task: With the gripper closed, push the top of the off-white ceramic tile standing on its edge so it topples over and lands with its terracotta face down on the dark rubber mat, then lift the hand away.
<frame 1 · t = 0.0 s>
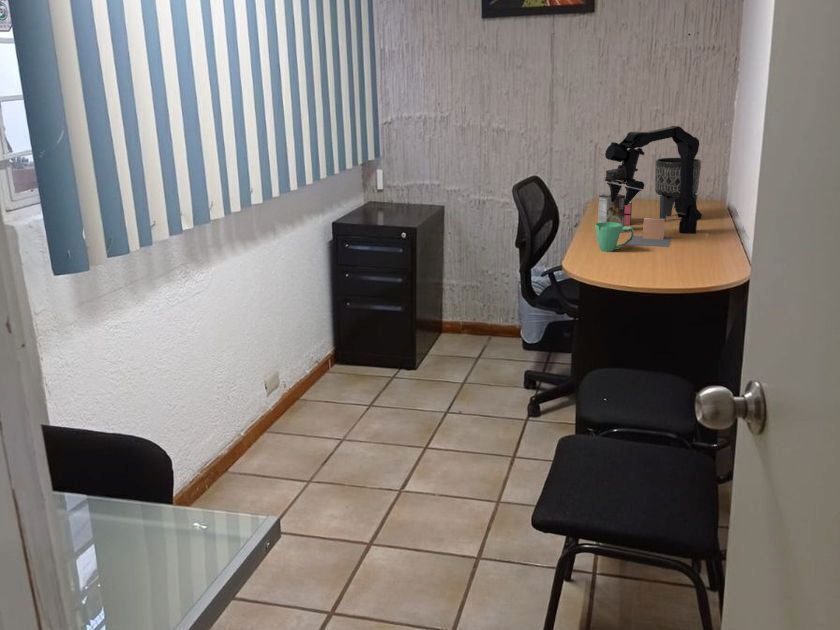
hand: (618, 203, 322), 15 cm above the table, tool pointing down, fingers open, 9 cm apart
coffee box: (610, 233, 343), on the table
mug: (613, 251, 313), on the table
planter: (674, 219, 368), on the table
mat: (649, 242, 324), on the table
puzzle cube: (618, 223, 362), on the table
tile: (653, 238, 328), point 1 cm above the table, touching mat
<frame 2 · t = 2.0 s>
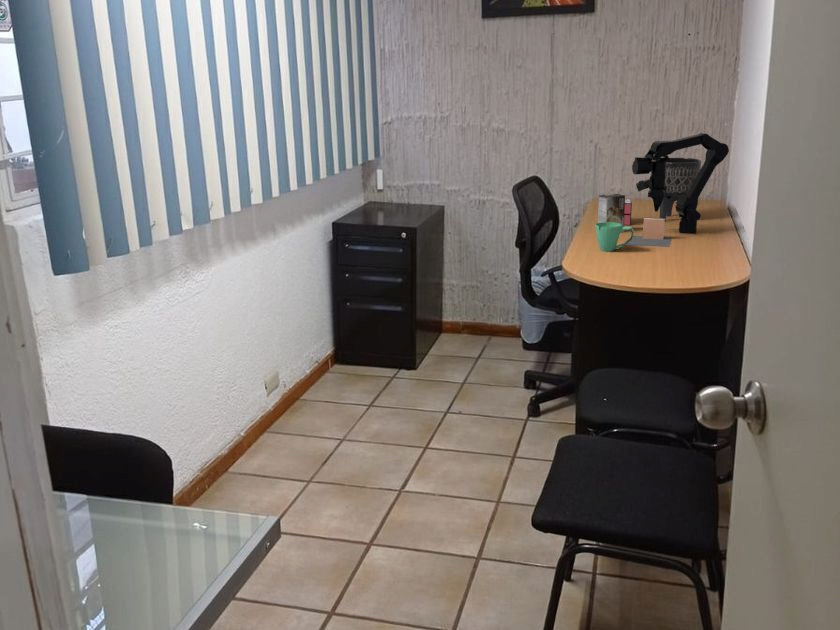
hand: (656, 211, 333), 10 cm above the table, tool pointing down, fingers closed
nothing on the table moved.
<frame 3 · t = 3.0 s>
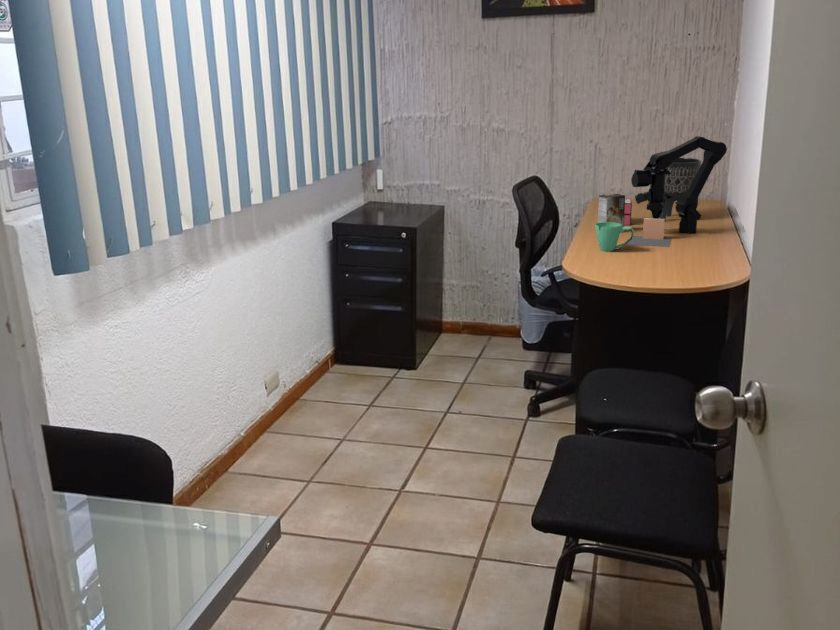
hand: (655, 223, 334), 5 cm above the table, tool pointing down, fingers closed
nothing on the table moved.
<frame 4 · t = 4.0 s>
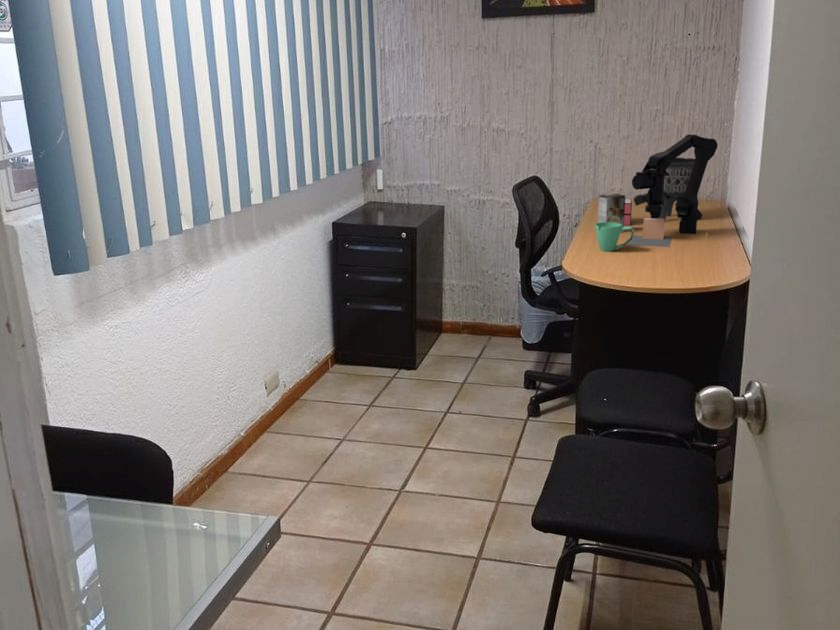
hand: (653, 226, 329), 5 cm above the table, tool pointing down, fingers closed
tile: (653, 238, 328), point 1 cm above the table, touching gripper, mat
everything else where it was.
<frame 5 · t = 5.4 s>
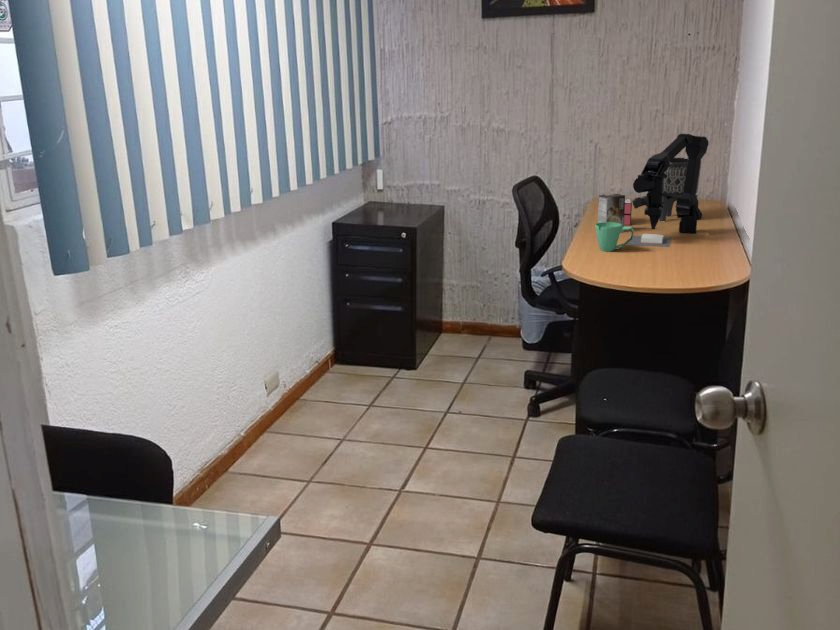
hand: (653, 229, 324), 5 cm above the table, tool pointing down, fingers closed
tile: (653, 236, 327), point 2 cm above the table, tilted 90°, touching mat
everything else where it was.
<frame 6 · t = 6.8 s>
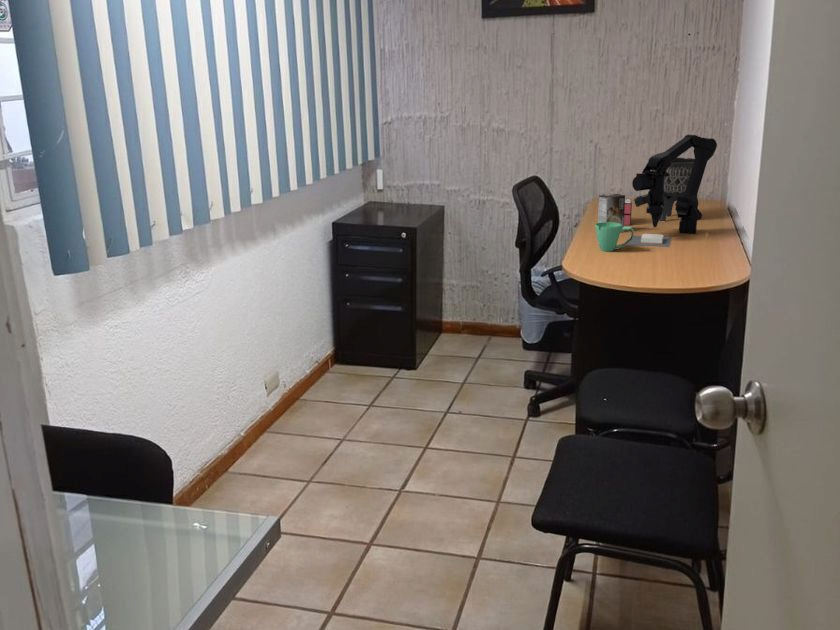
hand: (654, 226, 329), 5 cm above the table, tool pointing down, fingers closed
nothing on the table moved.
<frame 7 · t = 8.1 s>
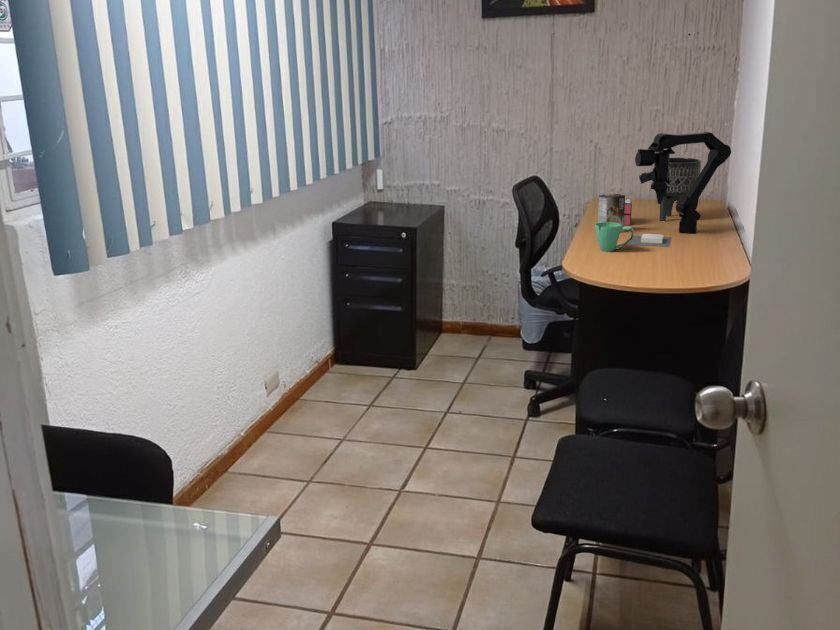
hand: (659, 203, 333), 13 cm above the table, tool pointing down, fingers closed
nothing on the table moved.
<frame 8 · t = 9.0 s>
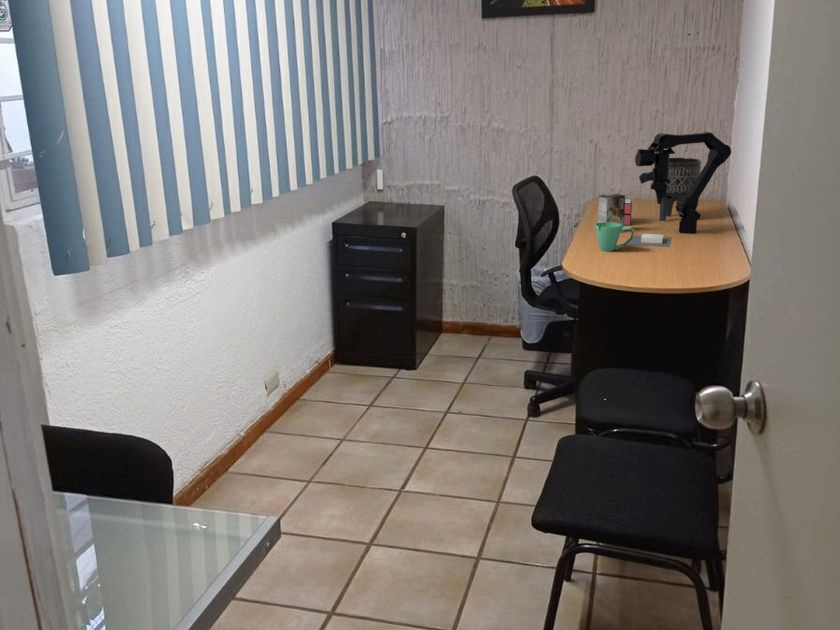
hand: (659, 203, 333), 13 cm above the table, tool pointing down, fingers closed
nothing on the table moved.
at the end: tile tilted 90°; tile inside the target area (4.5 cm from its centre), point 1.6 cm above the table; the gripper is holding nothing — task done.
